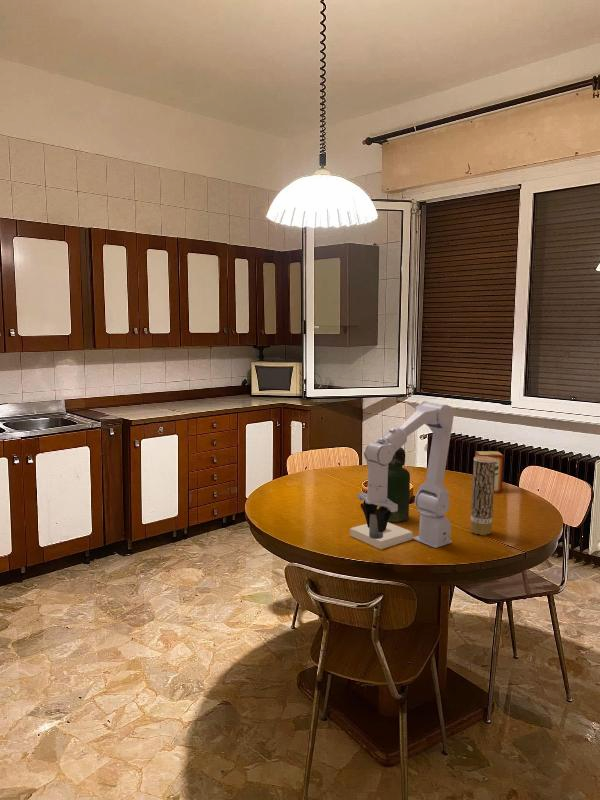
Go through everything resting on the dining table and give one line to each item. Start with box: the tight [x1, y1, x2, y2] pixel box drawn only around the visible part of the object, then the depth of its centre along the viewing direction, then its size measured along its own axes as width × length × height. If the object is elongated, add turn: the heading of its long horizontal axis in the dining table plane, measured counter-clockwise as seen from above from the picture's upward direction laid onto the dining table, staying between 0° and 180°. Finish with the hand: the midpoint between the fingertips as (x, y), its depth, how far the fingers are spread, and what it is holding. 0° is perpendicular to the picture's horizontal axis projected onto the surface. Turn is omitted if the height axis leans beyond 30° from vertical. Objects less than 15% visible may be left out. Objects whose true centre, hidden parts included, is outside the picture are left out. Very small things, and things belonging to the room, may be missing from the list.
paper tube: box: [469, 456, 496, 536], centre depth 197 cm, size 7×7×25 cm
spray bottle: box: [378, 447, 411, 523], centre depth 211 cm, size 10×10×25 cm
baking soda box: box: [474, 450, 505, 494], centre depth 245 cm, size 10×6×16 cm
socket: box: [349, 521, 414, 550], centre depth 194 cm, size 14×14×2 cm
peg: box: [369, 511, 383, 539], centre depth 176 cm, size 4×4×7 cm
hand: (376, 529), depth 176 cm, fingers closed on peg, 4 cm apart
